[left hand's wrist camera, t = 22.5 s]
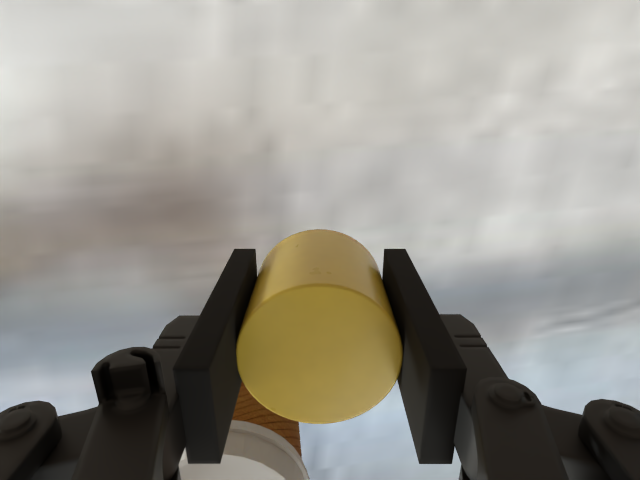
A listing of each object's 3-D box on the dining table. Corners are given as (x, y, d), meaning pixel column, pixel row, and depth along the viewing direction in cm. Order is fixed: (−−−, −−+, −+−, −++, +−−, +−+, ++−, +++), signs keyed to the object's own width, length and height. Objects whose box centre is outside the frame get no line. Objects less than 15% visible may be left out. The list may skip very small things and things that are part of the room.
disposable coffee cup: (299, 420, 36) (290, 574, 24) (192, 400, 35) (132, 551, 24) (325, 332, 32) (327, 464, 21) (207, 308, 31) (145, 432, 20)
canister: (353, 352, 16) (364, 442, 12) (242, 318, 16) (215, 399, 12) (400, 253, 15) (432, 317, 11) (280, 210, 14) (264, 260, 10)
